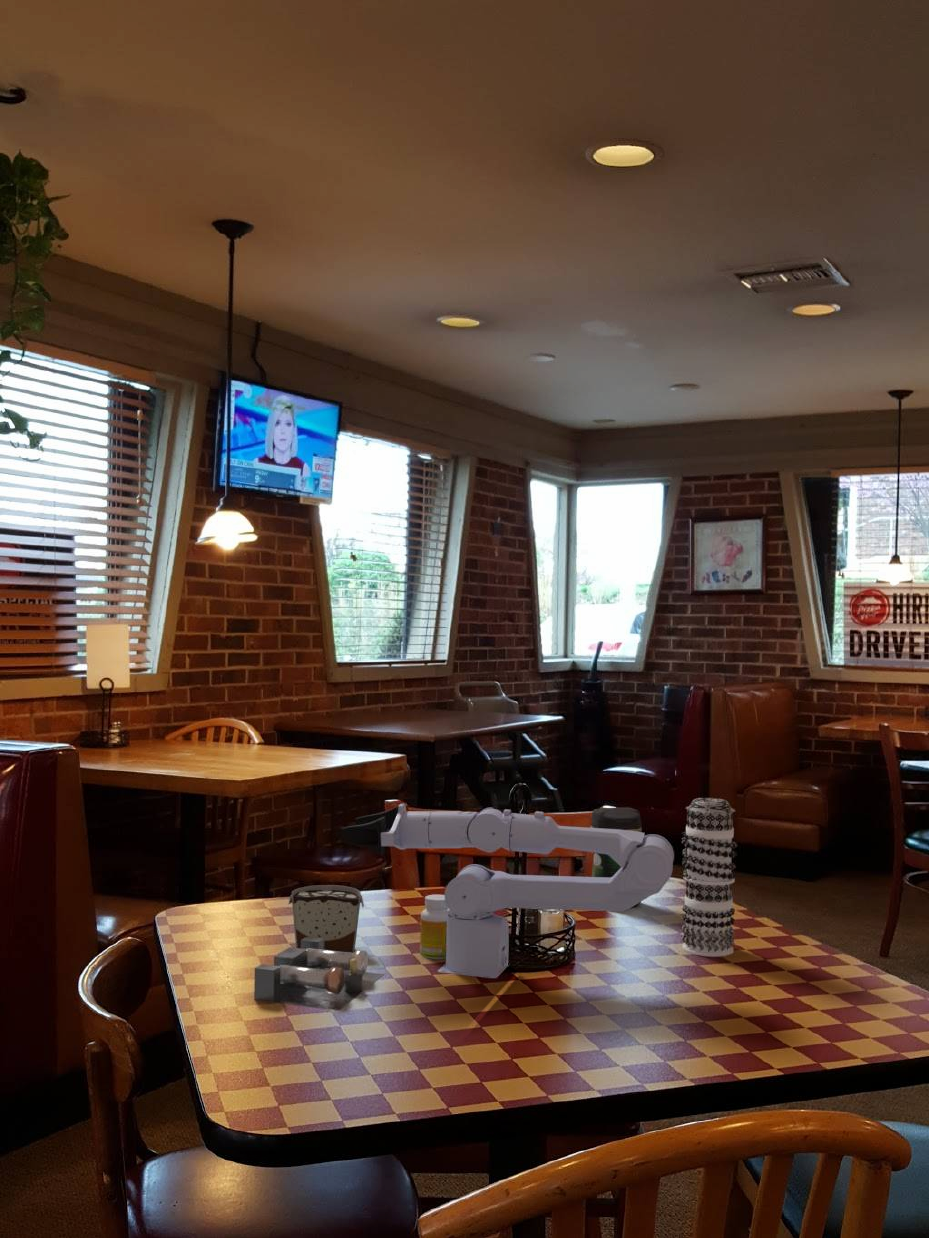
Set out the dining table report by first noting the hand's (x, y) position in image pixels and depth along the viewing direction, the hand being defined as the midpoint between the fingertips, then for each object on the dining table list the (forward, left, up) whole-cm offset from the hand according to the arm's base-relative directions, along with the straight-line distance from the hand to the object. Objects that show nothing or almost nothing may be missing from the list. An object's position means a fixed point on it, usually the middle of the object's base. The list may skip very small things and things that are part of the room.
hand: (348, 829), depth 185 cm
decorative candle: (-54, -27, -21) cm, 64 cm away
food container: (+5, -5, -21) cm, 22 cm away
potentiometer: (-7, +15, -20) cm, 26 cm away
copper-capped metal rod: (-2, +19, -19) cm, 27 cm away
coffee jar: (-34, -52, -21) cm, 65 cm away
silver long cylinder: (-2, +10, -20) cm, 22 cm away
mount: (-2, +15, -21) cm, 25 cm away
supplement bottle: (-13, -7, -21) cm, 26 cm away
